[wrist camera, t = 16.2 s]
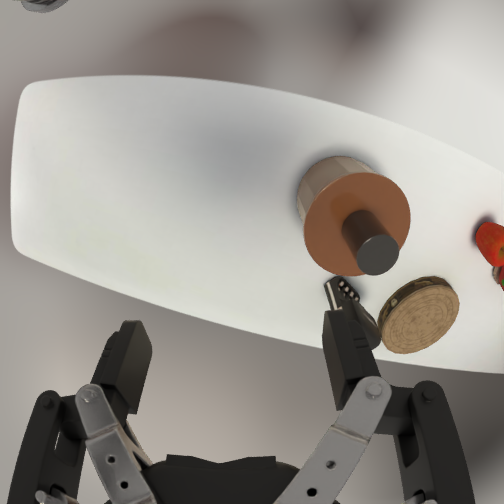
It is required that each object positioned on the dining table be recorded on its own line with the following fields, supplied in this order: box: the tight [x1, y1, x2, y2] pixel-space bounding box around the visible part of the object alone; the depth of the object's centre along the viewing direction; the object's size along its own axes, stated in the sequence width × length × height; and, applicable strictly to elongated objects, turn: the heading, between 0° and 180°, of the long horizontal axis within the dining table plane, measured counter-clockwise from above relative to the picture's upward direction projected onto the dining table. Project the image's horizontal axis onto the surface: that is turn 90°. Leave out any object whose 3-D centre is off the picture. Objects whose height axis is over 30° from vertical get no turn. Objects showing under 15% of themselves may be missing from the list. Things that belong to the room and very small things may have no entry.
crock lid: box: [303, 171, 410, 276], centre depth 28 cm, size 12×12×7 cm
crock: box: [297, 156, 376, 223], centre depth 34 cm, size 11×11×8 cm
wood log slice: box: [377, 276, 460, 354], centre depth 47 cm, size 16×16×3 cm
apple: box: [475, 222, 504, 267], centre depth 37 cm, size 6×6×8 cm
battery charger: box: [324, 277, 381, 350], centre depth 40 cm, size 7×4×11 cm, turn 44°
